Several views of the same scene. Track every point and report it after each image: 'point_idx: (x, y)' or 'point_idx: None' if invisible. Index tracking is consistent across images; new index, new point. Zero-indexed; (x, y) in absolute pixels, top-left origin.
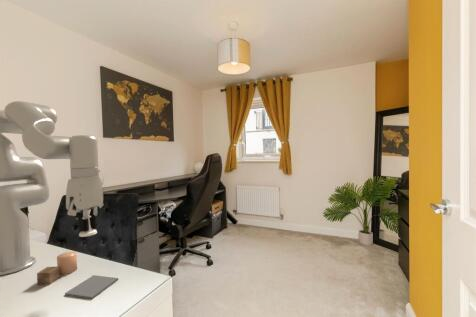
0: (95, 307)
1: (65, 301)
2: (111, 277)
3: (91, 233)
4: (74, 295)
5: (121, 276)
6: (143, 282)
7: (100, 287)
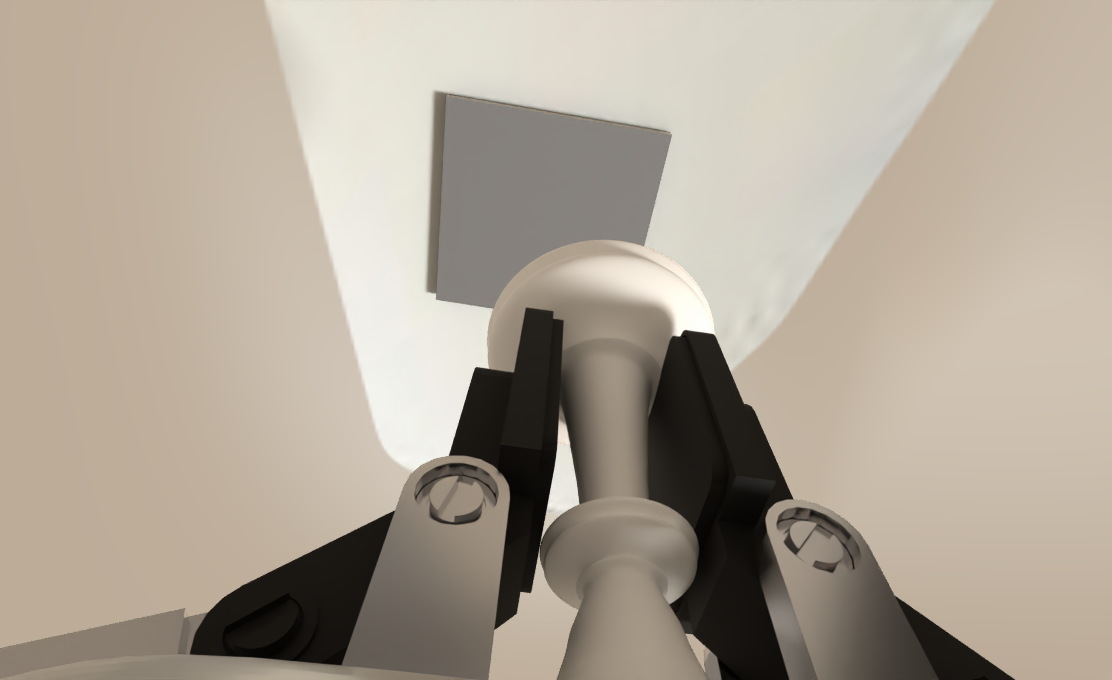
0: (387, 346)
1: (396, 154)
2: None
3: None
4: (444, 175)
5: None
6: None
7: None
